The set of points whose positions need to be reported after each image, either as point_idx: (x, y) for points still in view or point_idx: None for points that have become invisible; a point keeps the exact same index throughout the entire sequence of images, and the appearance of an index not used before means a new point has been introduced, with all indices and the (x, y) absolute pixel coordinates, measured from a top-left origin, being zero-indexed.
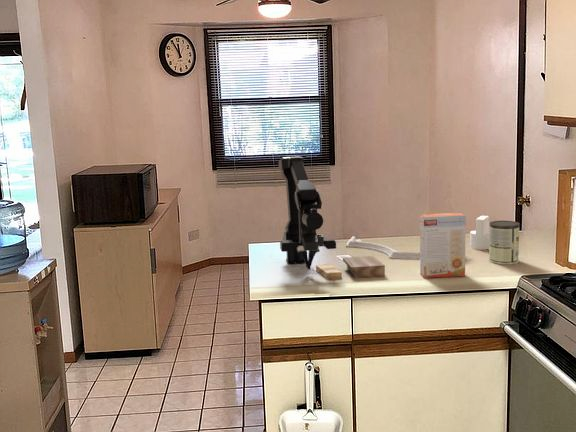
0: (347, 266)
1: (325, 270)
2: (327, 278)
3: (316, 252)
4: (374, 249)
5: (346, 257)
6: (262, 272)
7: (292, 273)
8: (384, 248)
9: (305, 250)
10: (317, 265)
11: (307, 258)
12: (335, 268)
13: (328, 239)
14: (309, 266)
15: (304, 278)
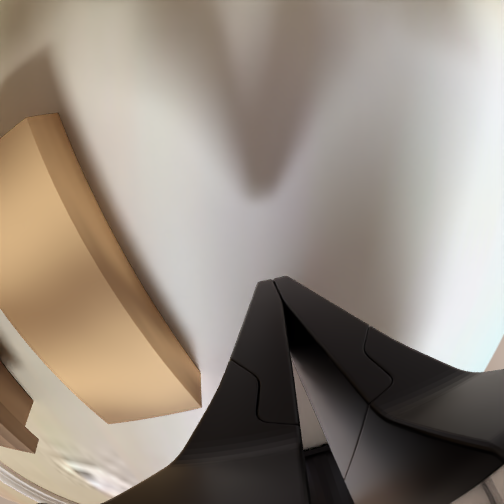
0: (24, 401)
1: (70, 258)
2: (58, 121)
3: (108, 501)
4: (61, 499)
5: (18, 449)
6: (498, 304)
7: (384, 302)
8: (26, 490)
9: (497, 482)
10: (189, 404)
11: (341, 363)
12: (13, 321)
13: None
14: (268, 293)
15: (306, 143)
